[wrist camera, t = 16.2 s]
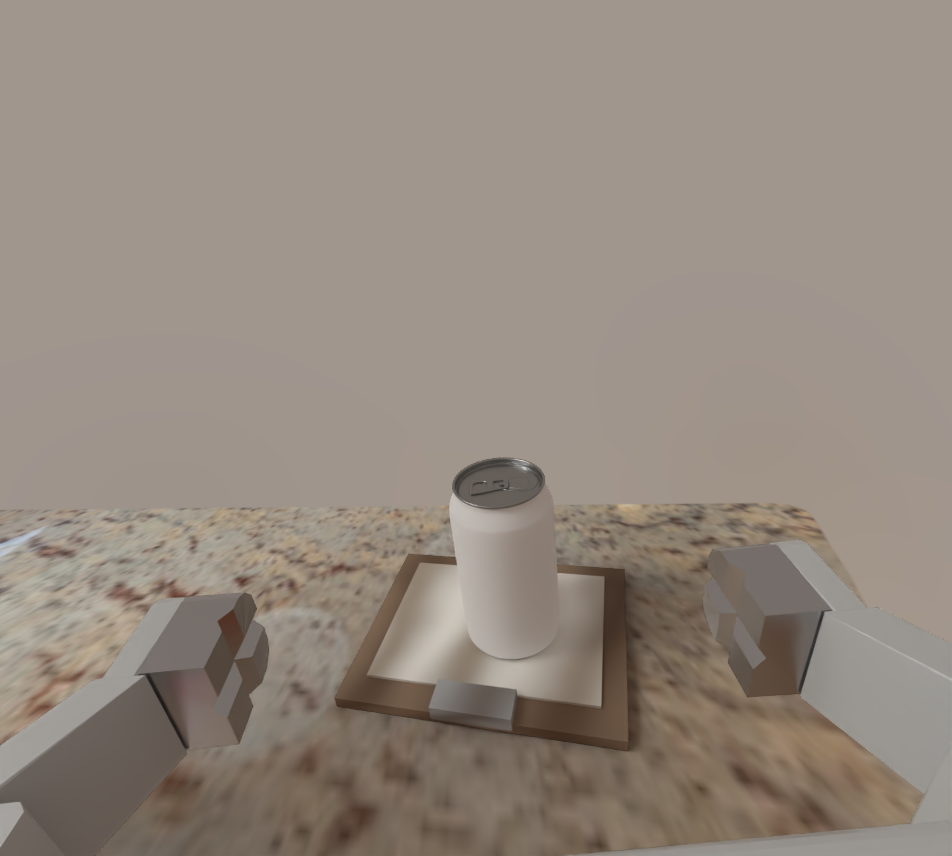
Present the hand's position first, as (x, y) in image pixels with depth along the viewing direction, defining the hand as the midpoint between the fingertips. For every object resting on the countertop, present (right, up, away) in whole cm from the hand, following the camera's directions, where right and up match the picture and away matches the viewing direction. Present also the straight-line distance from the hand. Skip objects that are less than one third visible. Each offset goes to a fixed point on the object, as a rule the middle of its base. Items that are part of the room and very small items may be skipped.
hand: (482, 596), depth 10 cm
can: (+3, -11, +28) cm, 30 cm away
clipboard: (+1, -12, +28) cm, 31 cm away
